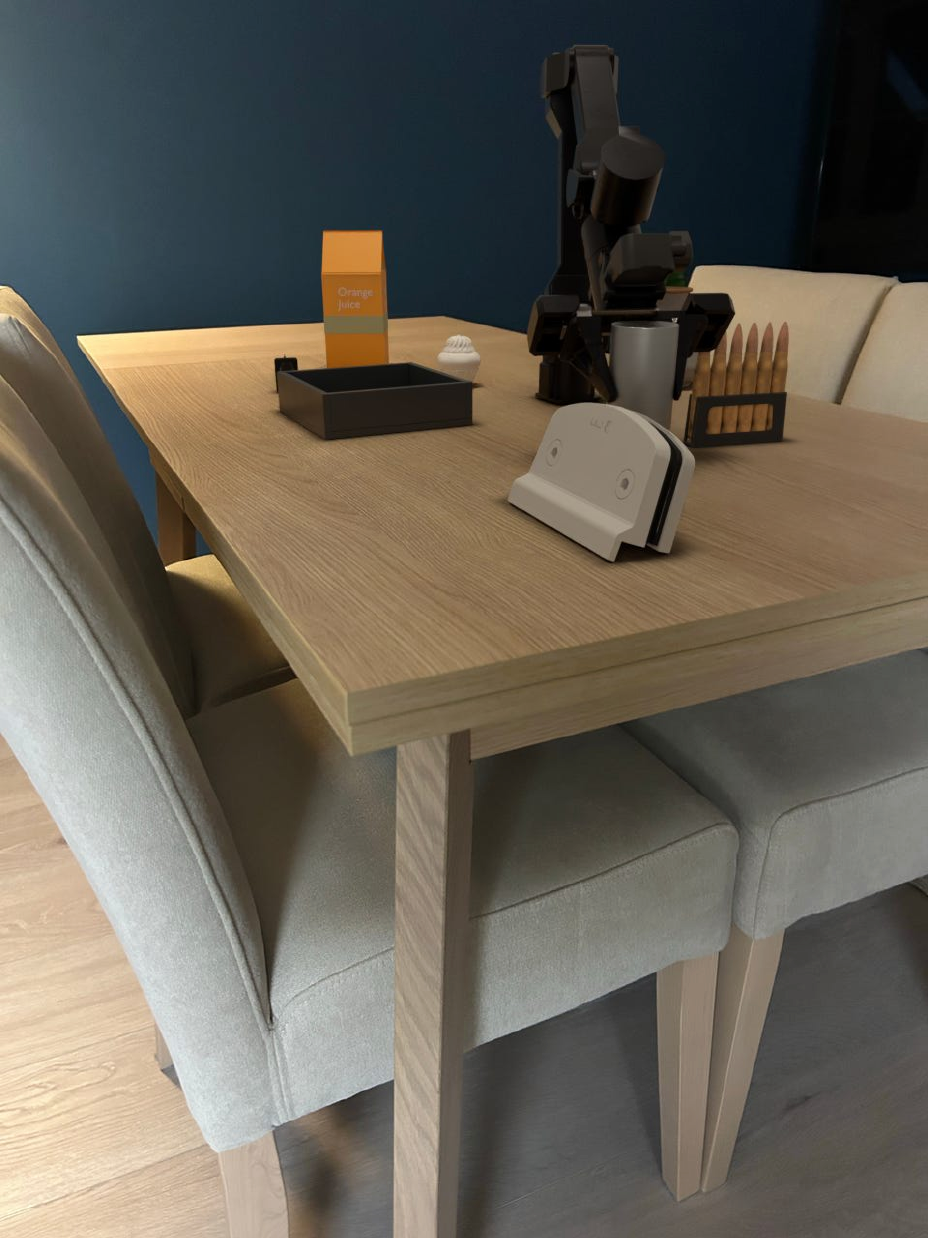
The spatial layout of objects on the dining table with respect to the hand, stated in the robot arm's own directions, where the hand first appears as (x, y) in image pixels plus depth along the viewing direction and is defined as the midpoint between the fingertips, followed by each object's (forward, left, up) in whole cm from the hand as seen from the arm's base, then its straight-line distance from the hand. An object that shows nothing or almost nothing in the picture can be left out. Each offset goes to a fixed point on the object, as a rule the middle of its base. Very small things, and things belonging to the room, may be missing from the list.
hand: (644, 398), depth 85 cm
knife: (+17, -59, -7) cm, 62 cm away
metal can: (0, -1, -7) cm, 7 cm away
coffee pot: (-32, -43, -7) cm, 54 cm away
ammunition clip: (-16, -5, -7) cm, 18 cm away
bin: (+14, -34, -7) cm, 37 cm away
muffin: (-5, -50, -7) cm, 51 cm away
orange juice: (+3, -69, -7) cm, 70 cm away
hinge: (+13, +12, -7) cm, 19 cm away
